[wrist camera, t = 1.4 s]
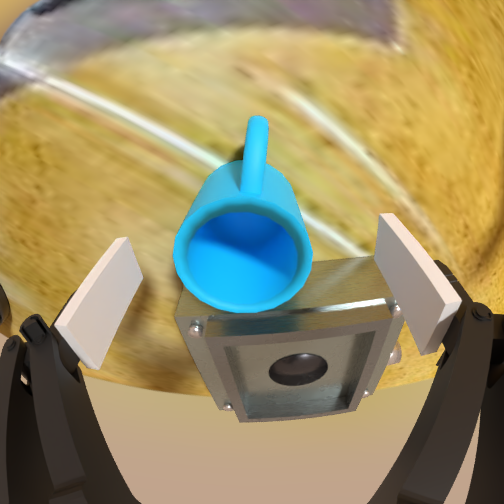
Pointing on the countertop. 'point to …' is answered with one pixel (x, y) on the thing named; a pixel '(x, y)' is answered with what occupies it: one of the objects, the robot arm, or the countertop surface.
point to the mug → (244, 234)
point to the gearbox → (298, 345)
